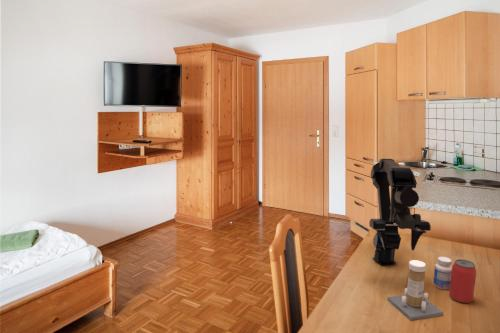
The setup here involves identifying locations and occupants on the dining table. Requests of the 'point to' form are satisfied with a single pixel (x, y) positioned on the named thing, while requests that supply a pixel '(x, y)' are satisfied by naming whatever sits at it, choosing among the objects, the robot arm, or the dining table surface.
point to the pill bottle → (443, 273)
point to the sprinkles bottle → (415, 283)
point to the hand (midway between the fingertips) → (398, 249)
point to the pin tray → (415, 312)
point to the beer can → (462, 281)
